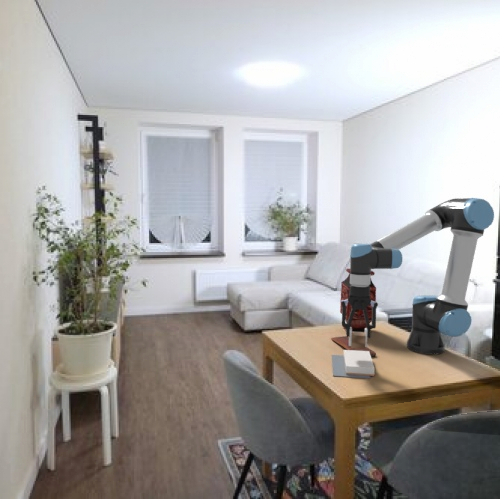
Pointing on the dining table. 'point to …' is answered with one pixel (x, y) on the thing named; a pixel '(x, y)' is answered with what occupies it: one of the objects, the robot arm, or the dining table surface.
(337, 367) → the felt mat
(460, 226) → the robot arm
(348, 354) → the tile
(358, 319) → the vase
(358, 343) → the walnut block
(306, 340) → the dining table surface
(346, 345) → the wooden tablet
